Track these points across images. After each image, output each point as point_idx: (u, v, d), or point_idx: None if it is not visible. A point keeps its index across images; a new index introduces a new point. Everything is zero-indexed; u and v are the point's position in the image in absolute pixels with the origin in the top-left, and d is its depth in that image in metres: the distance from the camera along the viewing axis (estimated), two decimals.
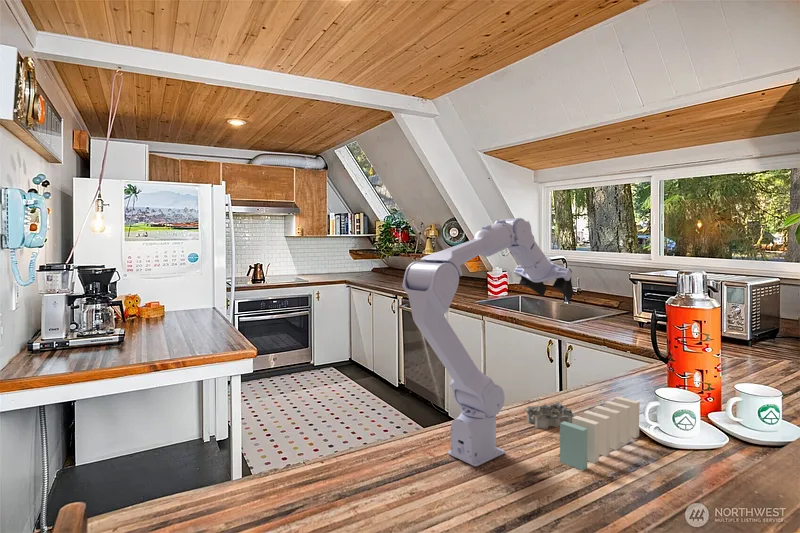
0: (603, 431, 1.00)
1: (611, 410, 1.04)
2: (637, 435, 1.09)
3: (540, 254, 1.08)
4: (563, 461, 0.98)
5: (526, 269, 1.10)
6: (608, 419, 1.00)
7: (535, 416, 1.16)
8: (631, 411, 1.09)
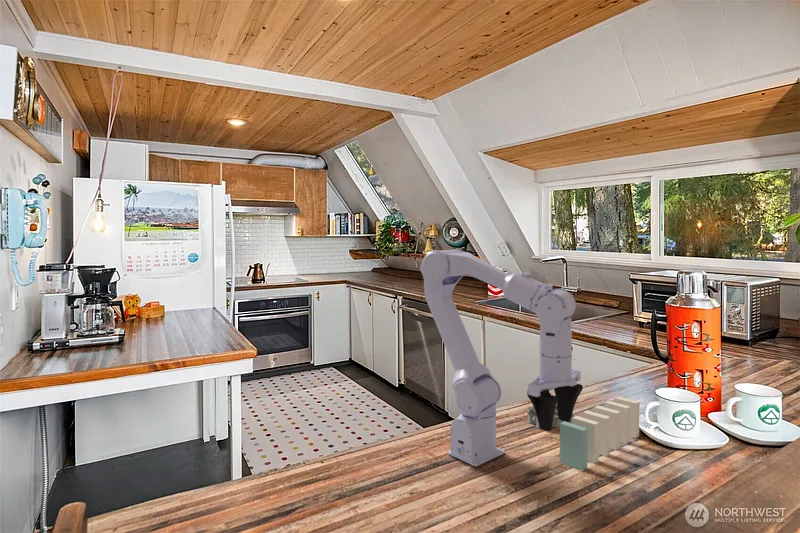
0: (603, 431, 1.00)
1: (611, 410, 1.04)
2: (637, 435, 1.09)
3: (552, 353, 0.89)
4: (563, 461, 0.98)
5: None
6: (608, 419, 1.00)
7: (536, 417, 1.16)
8: (631, 411, 1.09)
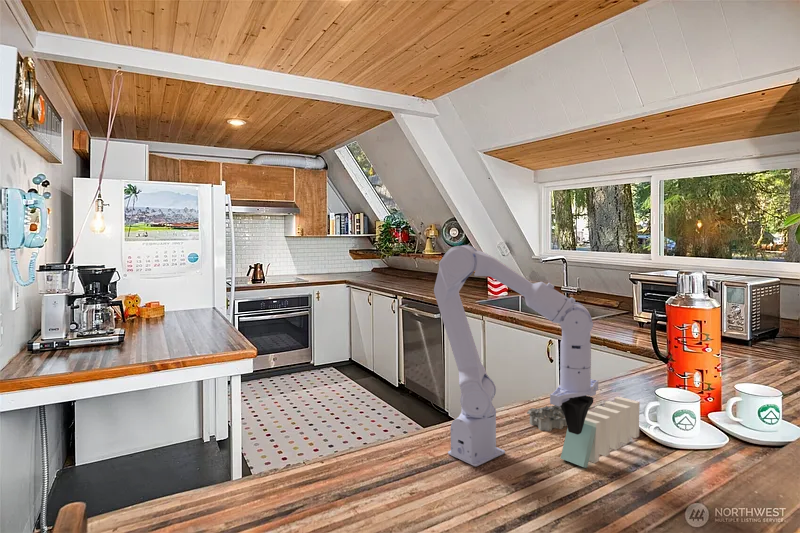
0: (603, 431, 1.00)
1: (611, 410, 1.04)
2: (637, 435, 1.09)
3: (578, 364, 0.93)
4: (564, 457, 0.98)
5: None
6: (608, 419, 1.00)
7: (539, 418, 1.15)
8: (631, 411, 1.09)
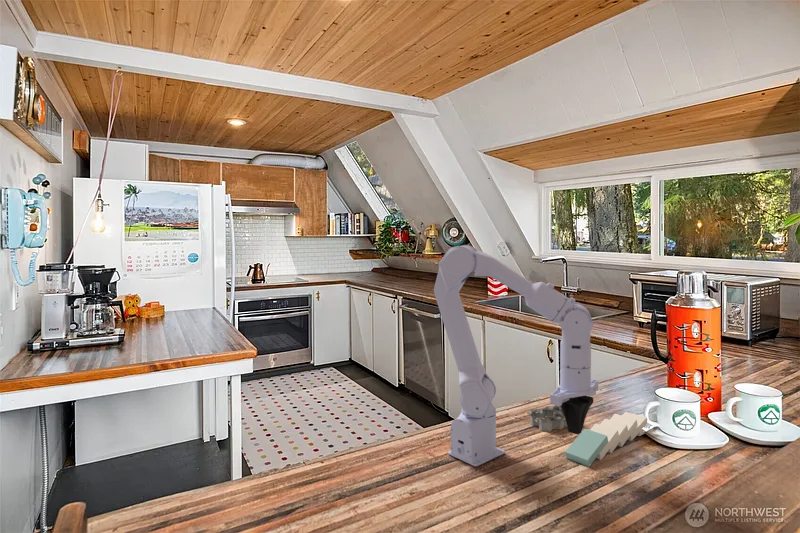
0: (619, 431, 1.05)
1: None
2: (640, 435, 1.10)
3: (578, 364, 0.93)
4: (569, 451, 0.99)
5: None
6: (626, 429, 1.06)
7: (539, 419, 1.15)
8: None
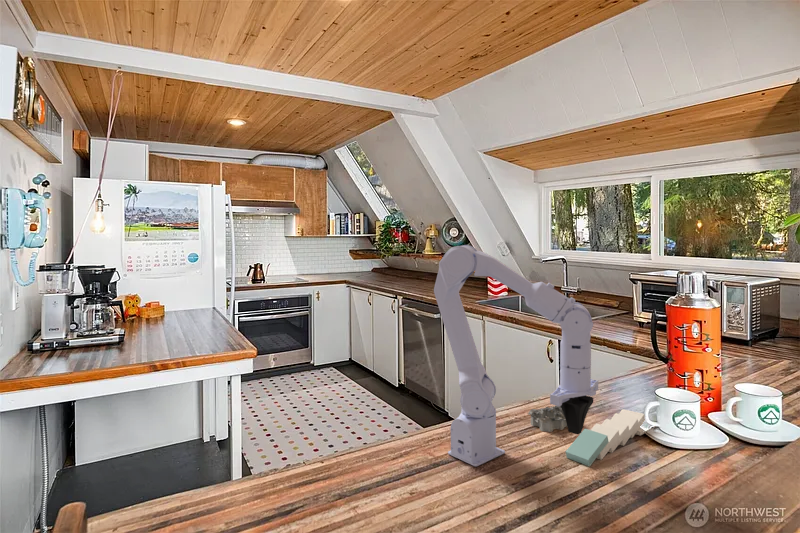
0: (620, 431, 1.05)
1: None
2: None
3: (578, 364, 0.93)
4: (569, 451, 0.99)
5: None
6: (628, 429, 1.06)
7: (540, 419, 1.14)
8: None
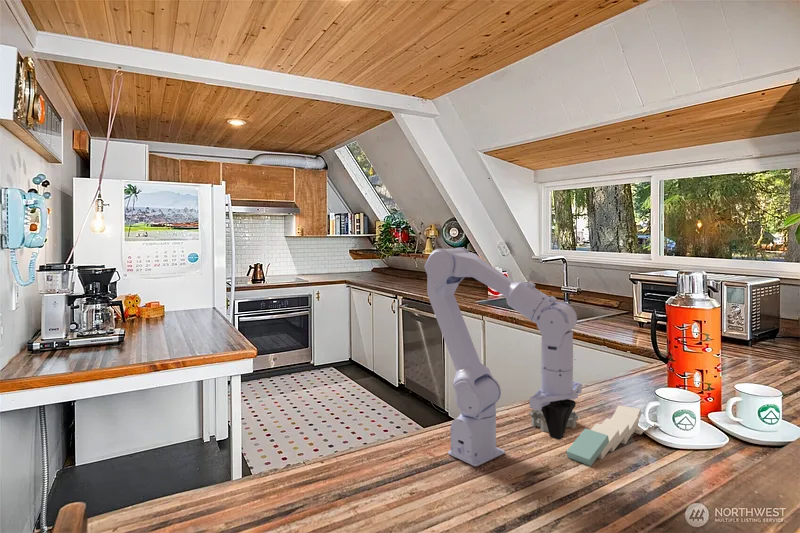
0: (620, 430, 1.05)
1: None
2: (641, 433, 1.11)
3: (554, 366, 0.89)
4: (570, 451, 0.99)
5: None
6: (628, 428, 1.07)
7: (541, 420, 1.14)
8: None
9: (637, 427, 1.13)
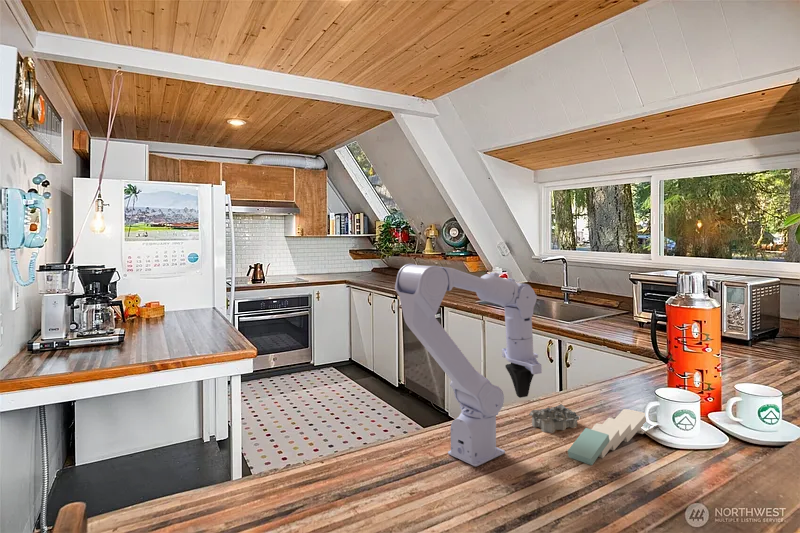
0: (622, 430, 1.06)
1: None
2: None
3: (529, 334, 1.05)
4: (571, 451, 1.00)
5: (507, 340, 1.07)
6: (630, 428, 1.07)
7: (542, 420, 1.14)
8: None
9: None
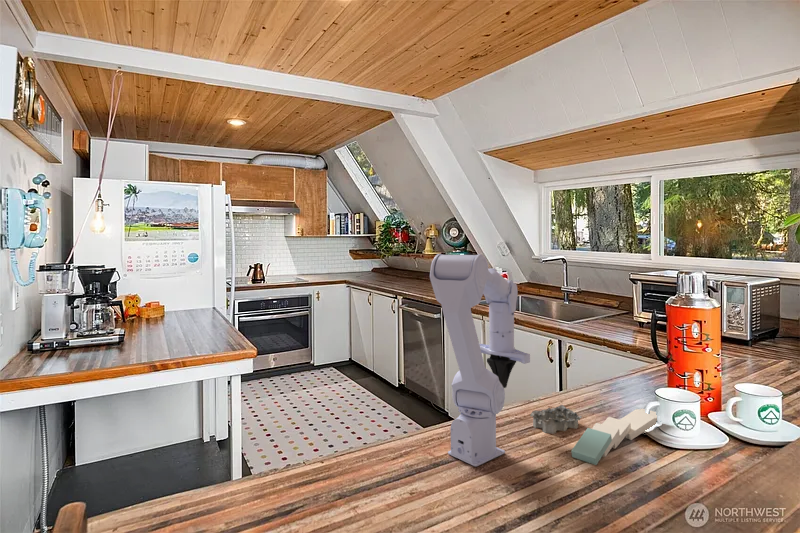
0: (623, 428, 1.07)
1: None
2: None
3: (513, 327, 1.13)
4: (575, 450, 0.99)
5: (493, 335, 1.12)
6: (630, 427, 1.09)
7: (543, 421, 1.13)
8: None
9: None
